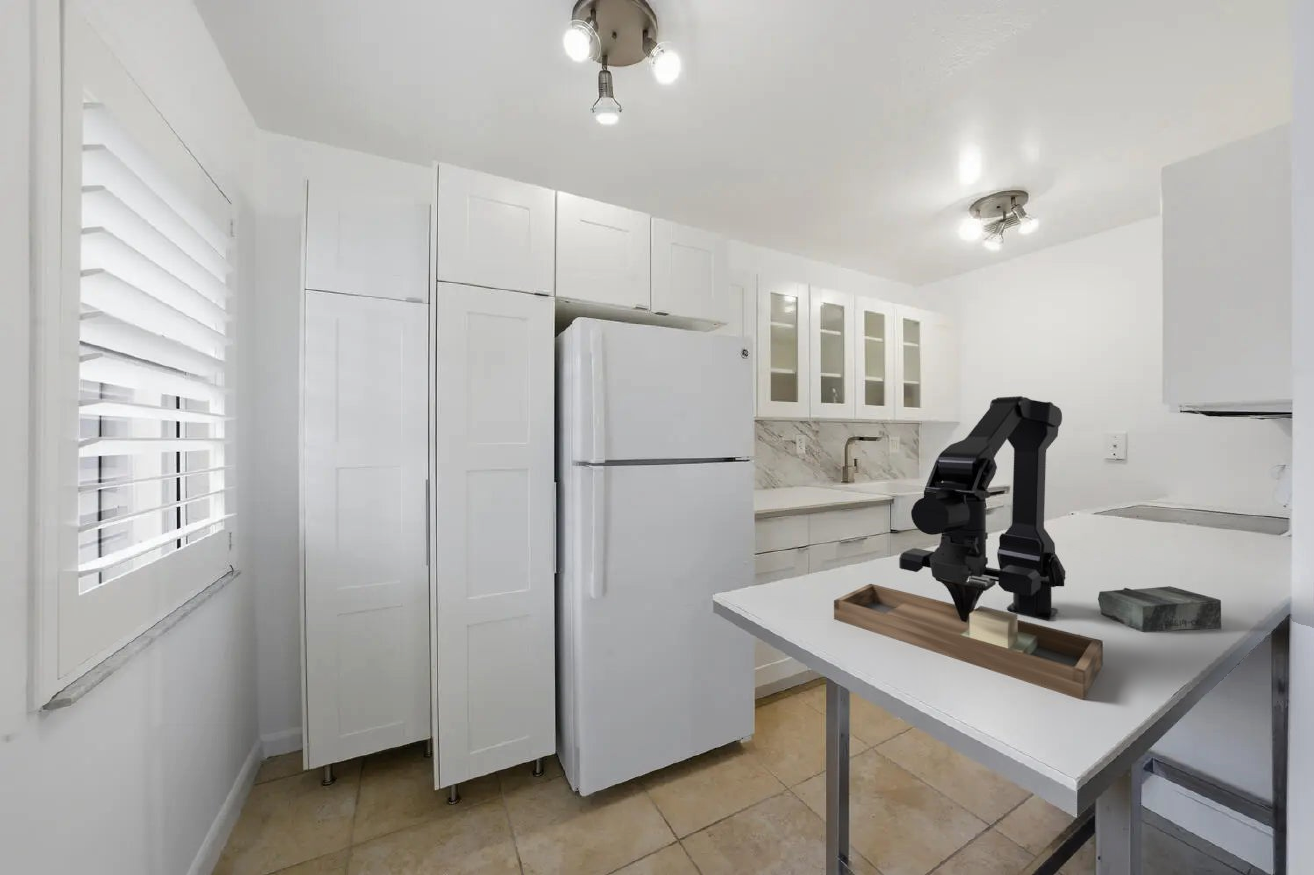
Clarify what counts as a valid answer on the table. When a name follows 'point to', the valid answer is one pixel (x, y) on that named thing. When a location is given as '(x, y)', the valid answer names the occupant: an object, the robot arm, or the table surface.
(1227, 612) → the table surface
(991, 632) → the beech block
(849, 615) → the tray
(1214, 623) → the stone block
